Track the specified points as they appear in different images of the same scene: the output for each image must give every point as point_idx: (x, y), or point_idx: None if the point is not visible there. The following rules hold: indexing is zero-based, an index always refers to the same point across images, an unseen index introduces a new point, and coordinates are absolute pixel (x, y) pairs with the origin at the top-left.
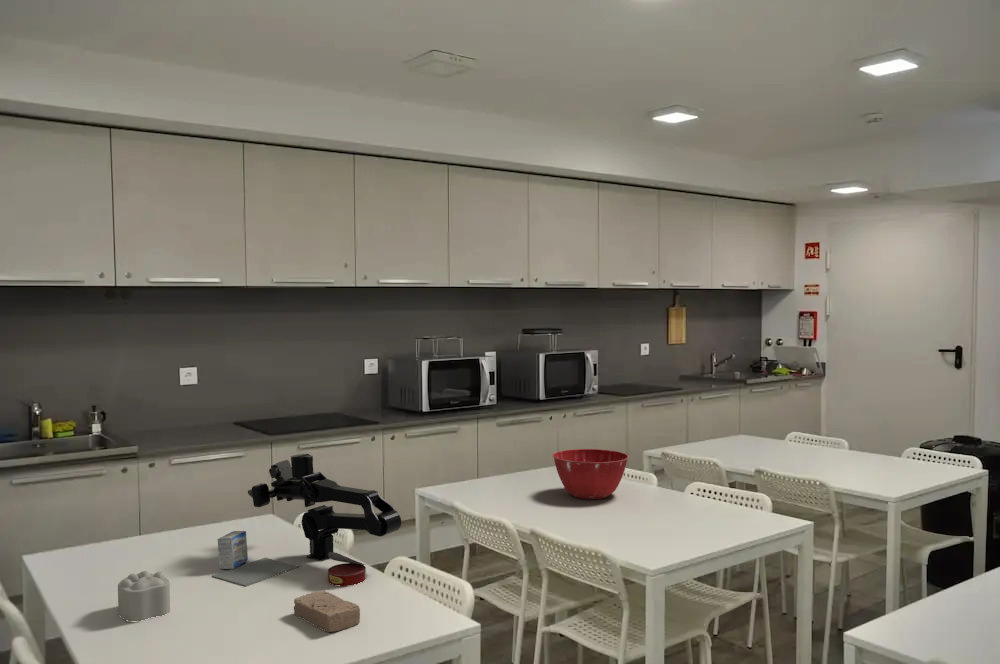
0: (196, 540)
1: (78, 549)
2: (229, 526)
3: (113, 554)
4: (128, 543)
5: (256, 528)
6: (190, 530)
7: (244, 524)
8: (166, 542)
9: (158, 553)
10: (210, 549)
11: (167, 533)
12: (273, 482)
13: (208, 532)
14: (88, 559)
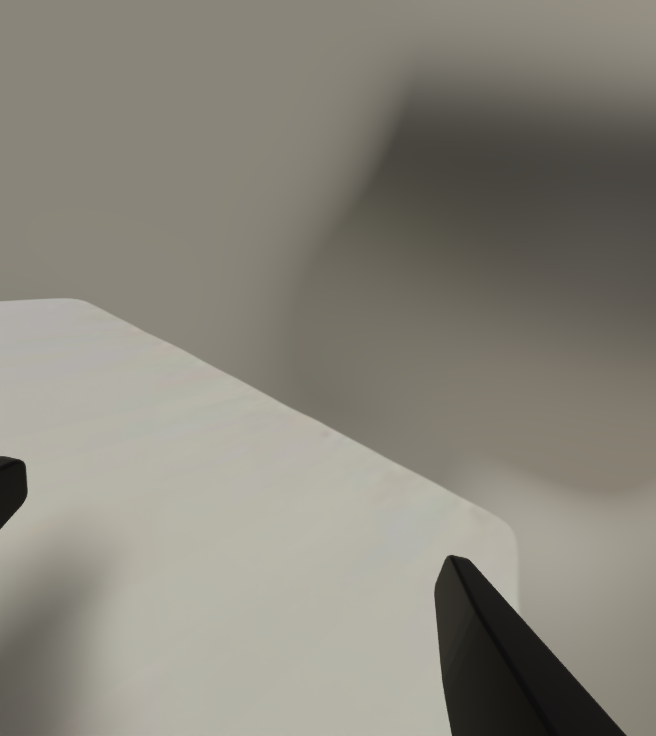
0: (197, 463)
1: (111, 324)
2: (363, 480)
3: (53, 362)
4: (156, 363)
5: (398, 575)
6: (287, 419)
7: (404, 509)
8: (169, 411)
9: (35, 429)
10: (56, 562)
11: (248, 393)
12: (467, 597)
13: (287, 458)
14: (15, 342)
